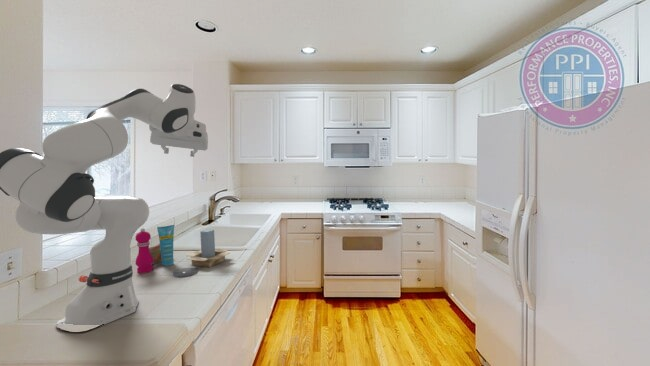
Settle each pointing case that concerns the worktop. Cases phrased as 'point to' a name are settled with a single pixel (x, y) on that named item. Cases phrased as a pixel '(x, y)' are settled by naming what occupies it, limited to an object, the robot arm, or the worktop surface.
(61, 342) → the worktop surface
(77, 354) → the worktop surface
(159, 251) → the tin
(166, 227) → the tube
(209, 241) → the box
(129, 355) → the worktop surface
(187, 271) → the coaster
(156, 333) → the worktop surface
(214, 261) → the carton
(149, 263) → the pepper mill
